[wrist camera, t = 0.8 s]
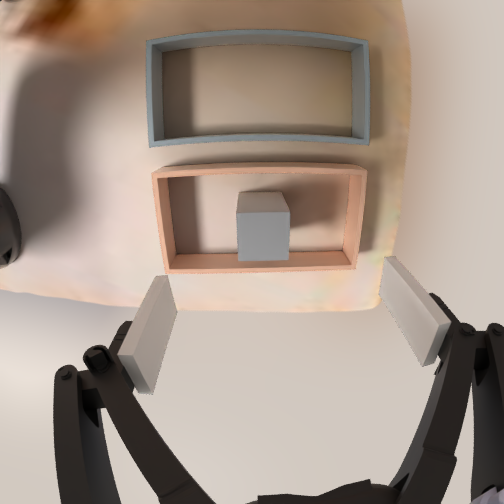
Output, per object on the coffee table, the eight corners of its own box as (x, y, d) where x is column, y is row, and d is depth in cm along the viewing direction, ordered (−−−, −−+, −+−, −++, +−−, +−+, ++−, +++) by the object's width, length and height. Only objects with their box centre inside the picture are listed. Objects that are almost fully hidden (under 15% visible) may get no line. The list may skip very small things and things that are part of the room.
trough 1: (160, 144, 31) (149, 147, 27) (157, 48, 25) (146, 40, 22) (356, 142, 31) (369, 145, 27) (355, 48, 26) (367, 40, 22)
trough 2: (172, 258, 37) (165, 273, 34) (161, 167, 32) (151, 173, 28) (346, 254, 37) (355, 269, 34) (355, 164, 32) (367, 170, 28)
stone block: (240, 231, 36) (238, 261, 29) (238, 192, 34) (236, 213, 26) (280, 230, 36) (288, 260, 29) (280, 191, 34) (290, 212, 26)
